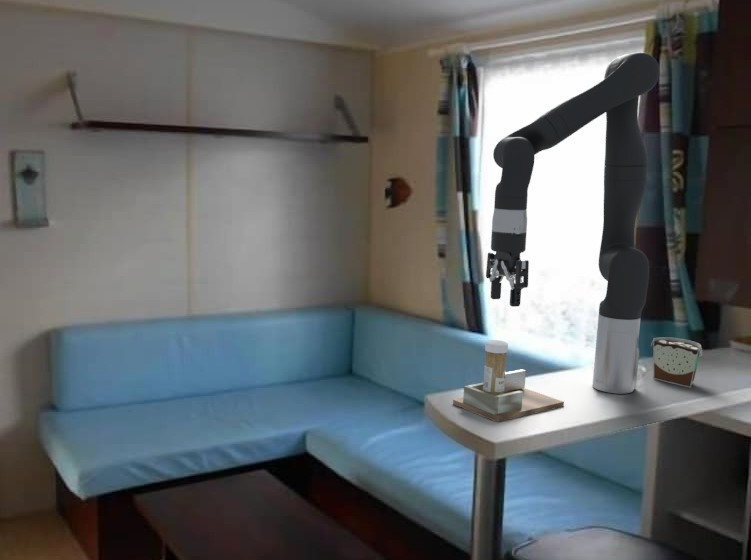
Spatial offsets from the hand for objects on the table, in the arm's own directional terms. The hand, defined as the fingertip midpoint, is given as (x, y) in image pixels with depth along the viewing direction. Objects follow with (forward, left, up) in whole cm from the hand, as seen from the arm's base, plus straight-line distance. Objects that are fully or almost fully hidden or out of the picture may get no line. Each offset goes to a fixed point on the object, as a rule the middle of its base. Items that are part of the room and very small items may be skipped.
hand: (504, 302), depth 175 cm
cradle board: (+6, +9, -20) cm, 23 cm away
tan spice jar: (+12, +10, -19) cm, 25 cm away
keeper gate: (+2, +4, -19) cm, 19 cm away
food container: (-45, +17, -20) cm, 52 cm away
